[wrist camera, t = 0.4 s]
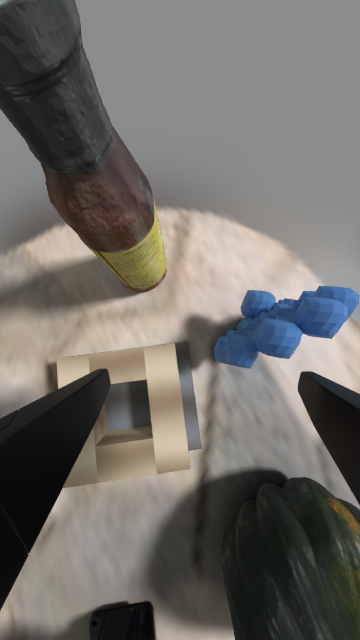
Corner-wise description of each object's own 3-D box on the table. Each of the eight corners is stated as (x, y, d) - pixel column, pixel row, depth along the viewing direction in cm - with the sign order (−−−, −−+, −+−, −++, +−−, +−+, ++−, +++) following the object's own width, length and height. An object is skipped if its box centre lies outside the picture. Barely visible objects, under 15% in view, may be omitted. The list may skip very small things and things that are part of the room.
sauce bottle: (175, 258, 24) (166, -95, 5) (154, 300, 24) (41, 97, 4) (130, 238, 25) (-59, -179, 5) (108, 279, 24) (-214, -11, 4)
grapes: (269, 281, 24) (358, 222, 12) (297, 326, 24) (420, 311, 12) (191, 324, 23) (206, 307, 12) (218, 372, 23) (264, 407, 11)
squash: (458, 575, 16) (728, 885, 5) (377, 752, 15) (500, 1593, 4) (285, 442, 26) (255, 451, 15) (230, 542, 25) (155, 628, 14)
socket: (200, 443, 22) (205, 466, 18) (71, 462, 21) (47, 490, 17) (186, 341, 23) (188, 341, 19) (65, 357, 23) (41, 360, 19)
